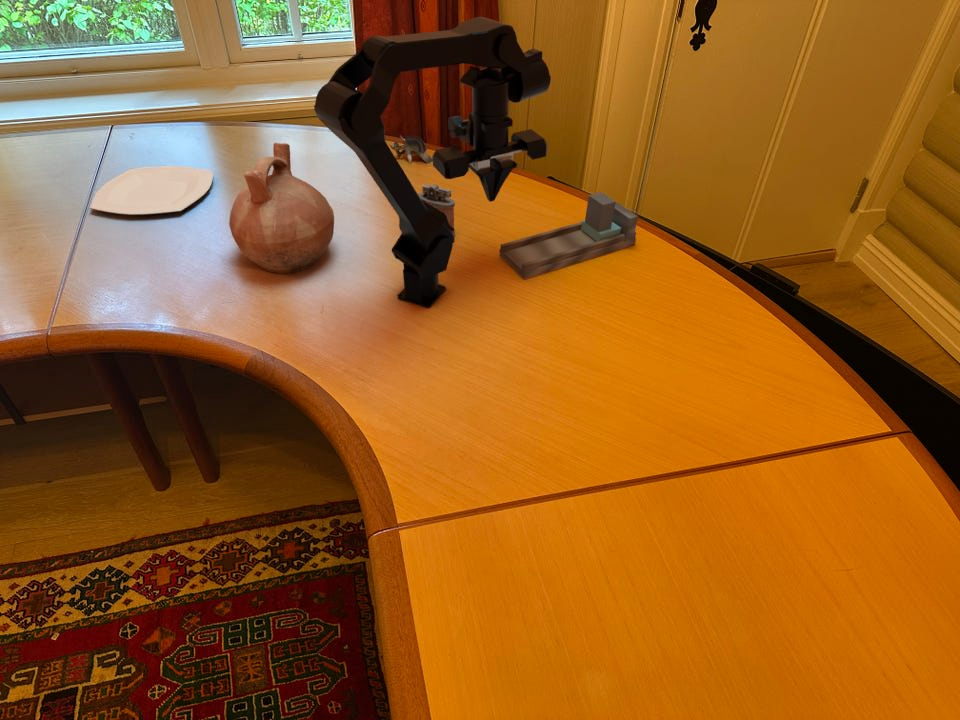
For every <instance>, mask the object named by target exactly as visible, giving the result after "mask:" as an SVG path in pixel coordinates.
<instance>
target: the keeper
mask: <svg viewBox="0 0 960 720" xmlns="http://www.w3.org/2000/svg"><path fill="white" fill-rule="evenodd" d="M616 202H617V201H616V200H614V199H613V200H612V198H611V197H610V198H609V196H608V195H606V194H604V193H603V192H601V191H600V192H597V193H593V194H588V198H587V205H586V211H585V218H584V220H581V222H582V226H581V230H582V231H584V232H585V233H586V234H588V235H589V236H590V237H592V238H593V239H594V240H596V241H600V240H604V239H607V238H610V237H614V236H617V235H620V233H621V227H619V226H618V225H616V224H615V223H613V222H612V219H613V214H614V209H615V203H616Z"/></svg>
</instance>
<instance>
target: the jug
mask: <svg viewBox="0 0 960 720" xmlns="http://www.w3.org/2000/svg"><path fill="white" fill-rule="evenodd" d="M272 151H273V156H265V157H262V158H261V159H259V160H258V161H257V163H256V164H255V167H254V170H253V171H250V170H248V171H245V172H244V174H243V176H244V178H245V179H244V180H245V181H246V184H247V185H246V186H245V187H243V188H242V189H241V190H240V192H239V193H238V194H237V196H236V198H235V199H234V202H233V204H232V207H231V209H230V215H229V221H228V222H229V223H228V225H229V229H230V233H231V235H232V236H231V237H232V238H233V240H234V242H235V243H236V245H237V247H238V248H239V250H240V252H242V254H244V255H245V256H246V257H247V258H249V260H251V261H252V262H253V263H255V264H256V265H258V266H260V267H261V268H262V269H263V270H265V271H267V272H270V273H275V274H289V273H294V272H298V271H301V270H304V269H306V268H308V267H311V266H312V265H313V264H314V263H316V262H317V261H318V260H319V258H320V257H321V256H322V254H324V252H325V251H326V249H327V248H328V247H329V245H330V243H331V241H332V239H333V236H334V230H335V213H334V210H333V208H332V207H331V205H330V203H329V202H328V200H327V198H326V197H325V196H324V195H323V194H322V193H321V192H320V191H319V190H318V189H316V188H315V187H314V186H312V185H311V184H309V183H308V182H307V181H305V180H302V179H300V178H298V177H297V176H294V175H293V174H292V171H291V167H292V166H291V147H290V144H288V143H287V142H285V143H283V142H274V143H273V150H272ZM271 168H273V169H272V172H271V174H270V175H269V173H270V170H271Z"/></svg>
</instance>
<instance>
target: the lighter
mask: <svg viewBox="0 0 960 720" xmlns="http://www.w3.org/2000/svg"><path fill="white" fill-rule="evenodd" d="M421 186H422V187H421V190H422V192H421V191H420V192H419V193H417V194H418V195H419V197H420V199H421V200H424V201H425V202H427V203H429V204H430V205H432V206H433V207H435V208H437V209H438V210H440V211H442V212H443V213H444V214H445V215H446V217H447V219H448V222H449V224H450V226H451V227H453V228H454V229H455V208H454V207H455V206H456V203H455V202H456V201H455V200H454V199H452V198H451V197H452V191H451V189H448V188H444V187H440V186H439V185H438V184H436V183H435V184H433V185H430V184H425V183H423V184H422V185H421ZM452 233H453V235H454V238H455V237H456V231H455V230H454V231H452Z"/></svg>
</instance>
